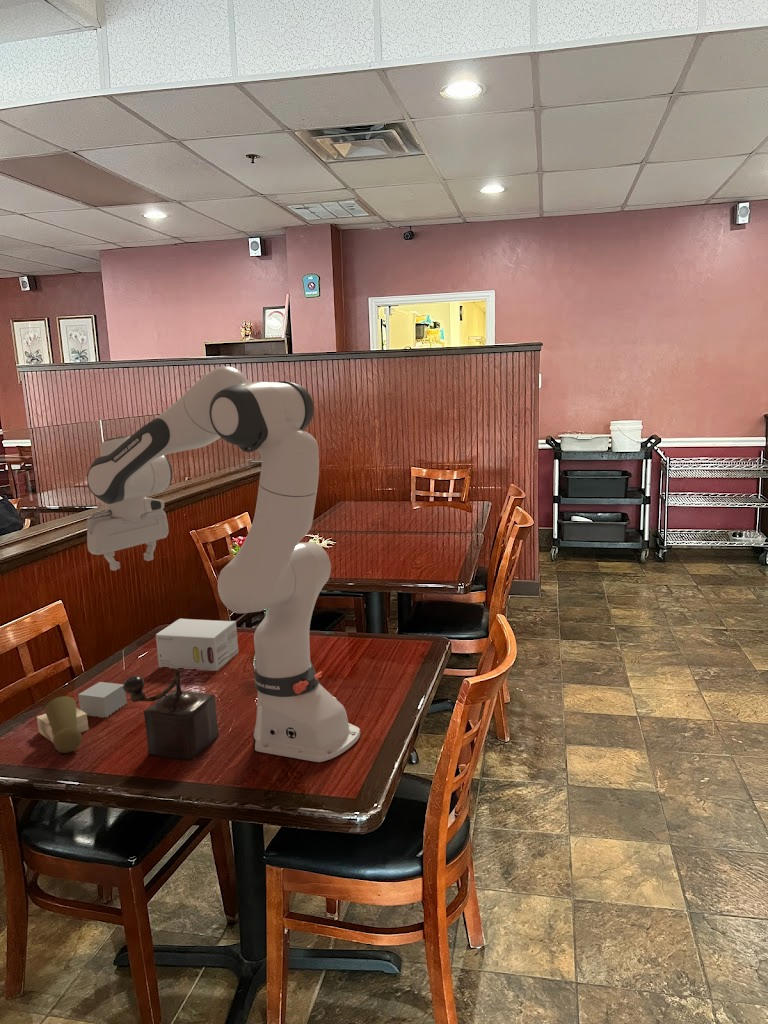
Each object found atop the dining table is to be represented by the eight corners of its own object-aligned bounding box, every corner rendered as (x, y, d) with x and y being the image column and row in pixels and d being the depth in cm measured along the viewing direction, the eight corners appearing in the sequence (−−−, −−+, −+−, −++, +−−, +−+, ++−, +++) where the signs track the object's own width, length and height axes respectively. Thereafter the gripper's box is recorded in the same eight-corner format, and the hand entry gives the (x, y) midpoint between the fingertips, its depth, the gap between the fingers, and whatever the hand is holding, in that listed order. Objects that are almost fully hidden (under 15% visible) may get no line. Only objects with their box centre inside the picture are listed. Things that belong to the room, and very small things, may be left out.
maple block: (88, 730, 155) (86, 713, 154) (53, 744, 149) (51, 727, 149) (73, 720, 160) (71, 704, 159) (39, 733, 154) (36, 716, 154)
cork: (77, 694, 151) (86, 733, 144) (74, 715, 154) (83, 754, 146) (46, 698, 148) (53, 738, 140) (43, 719, 151) (51, 760, 143)
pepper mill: (174, 729, 153) (165, 649, 149) (220, 735, 149) (212, 653, 146) (127, 768, 138) (117, 680, 135) (177, 775, 135) (167, 685, 131)
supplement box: (157, 668, 187) (154, 634, 185) (183, 649, 199) (179, 617, 198) (217, 671, 183) (214, 637, 181) (239, 652, 195) (236, 619, 194)
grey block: (126, 704, 166) (124, 684, 165) (106, 718, 160) (103, 697, 159) (102, 701, 168) (99, 681, 168) (80, 715, 162) (78, 694, 161)
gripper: (94, 515, 155) (102, 577, 158) (169, 500, 172) (175, 556, 175) (77, 514, 159) (84, 574, 161) (152, 498, 176) (158, 553, 178)
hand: (132, 564), depth 168 cm, fingers open, 8 cm apart
